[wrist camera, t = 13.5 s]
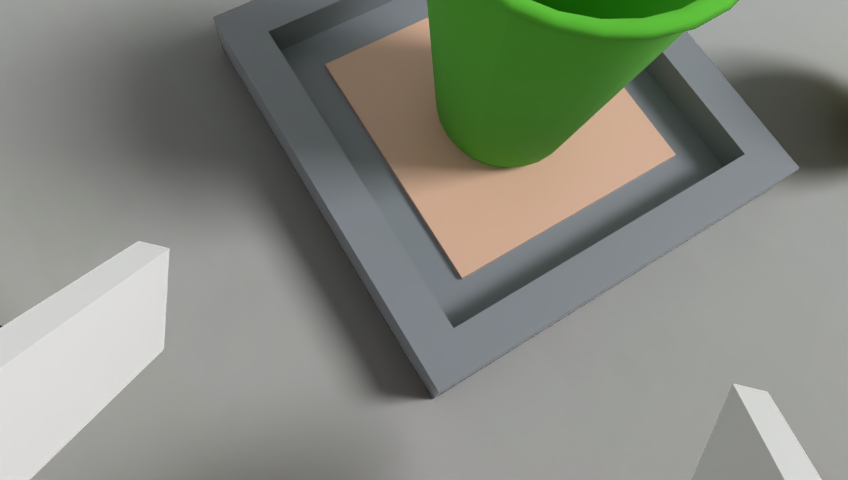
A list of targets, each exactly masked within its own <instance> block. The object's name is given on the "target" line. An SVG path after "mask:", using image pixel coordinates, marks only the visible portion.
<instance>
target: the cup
mask: <svg viewBox="0 0 848 480" xmlns="http://www.w3.org/2000/svg"><path fill="white" fill-rule="evenodd" d="M738 1H739V0H427V6H428V18H429V29H430V40H431V51H432V63H433V74H434V85H435V96H436V107H437V111H438V115H439V120H440V123H441V125H442V126H443V128H444V130H445V132H446V134H447V136H448V137H449V138H450V139H451V140H452V141H453V142H454V143H455V145H456V146H457V147H458V148H459V149H460V150H461V151H462V152H464V153H465V154H467V155H468V156H470V157H471V158H473V159H474V160H477V161H479V162H482V163H484V164H487V165H491V166H496V167H502V168H506V167H522V166H526V165H530V164H533V163H537V162H539V161H541V160H542V159H544V158H546V157H548V156H549V155H551V154H552V153H553V152H554V151H555V150H557V149H558V148H559V147H560V146H561V145H562V144H563V143H564V142H565V141H566V140H567V139H568V138H570V137H571V136H572V135H573V134H574V133H575V132H576V131H577V130H578V129H579V128H580V127H582V126H583V125H584V124H585V123H586V122H587V121H588V120H589V119H590V118H591V117H592V116H594V115H595V114H596V113H597V112H598V111H599V110H600V109H601V108H602V107H603V106H604V105H606V104H607V103H608V102H609V101H610V100H611V99H612V98H613V97H614V96H615V95H616V94H617V93H619V92H620V91H621V90H622V89H623V88H624V87H625V86H626V85H627V84H628V83H629V82H631V81H632V80H633V79H634V78H635V77H636V76H637V75H638V74H639V73H640V72H641V71H643V70H644V69H645V68H646V67H647V66H648V65H649V64H650V63H651V62H652V61H653V60H654V59H656V58H657V57H658V56H659V55H660V54H661V53H662V52H663V51H664V50H665V49H666V48H668V47H669V46H670V45H671V44H672V43H673V42H674V41H675V40H676V39H677V38H678V37H680V36H681V35H682V34H683V33H684V32H685V31H689V30H692V29H695V28H697V27H699V26H701V25H703V24H704V23H706V22H708V21H710V20H712V19H713V18H715V17H717V16H719V15H721V14H722V13H724V12H726V11H728V10H730V9H731V8H732V7H733V6H734V5H735V4H736V3H737V2H738Z"/></svg>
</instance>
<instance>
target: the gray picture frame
mask: <svg viewBox="0 0 848 480" xmlns="http://www.w3.org/2000/svg"><path fill="white" fill-rule="evenodd" d="M213 19H214V22H215V25H216V28H217V31H218V34H219V37H220V40H221V43H222V46H223V49H224V51H225V53H226V55H227V56H228V58H229V60H230V61H231V63H232V65H233V66H234V68H235V70H236V71H237V73H238V75H239V76H240V78H241V80H242V81H243V83H244V85H245V86H246V88H247V90H248V91H249V93H250V95H251V96H252V98H253V100H254V101H255V103H256V105H257V106H258V108H259V110H260V111H261V113H262V115H263V116H264V118H265V120H266V121H267V123H268V125H269V126H270V128H271V130H272V131H273V133H274V135H275V136H276V138H277V140H278V141H279V143H280V145H281V146H282V148H283V150H284V151H285V153H286V155H287V156H288V158H289V160H290V161H291V163H292V165H293V166H294V168H295V170H296V171H297V173H298V175H299V177H300V178H301V180H302V182H303V183H304V185H305V187H306V188H307V190H308V192H309V193H310V195H311V197H312V198H313V200H314V202H315V203H316V205H317V207H318V208H319V210H320V212H321V213H322V215H323V217H324V218H325V220H326V222H327V223H328V225H329V227H330V228H331V230H332V232H333V233H334V235H335V237H336V238H337V240H338V242H339V243H340V245H341V247H342V248H343V250H344V252H345V253H346V255H347V257H348V258H349V260H350V262H351V263H352V265H353V267H354V268H355V270H356V272H357V273H358V275H359V277H360V278H361V280H362V282H363V283H364V285H365V287H366V288H367V290H368V292H369V294H370V295H371V297H372V299H373V300H374V302H375V304H376V305H377V307H378V309H379V310H380V312H381V314H382V315H383V317H384V319H385V320H386V322H387V324H388V325H389V327H390V329H391V330H392V332H393V334H394V335H395V337H396V339H397V340H398V342H399V344H400V345H401V347H402V349H403V350H404V352H405V354H406V355H407V357H408V359H409V360H410V362H411V364H412V365H413V367H414V369H415V370H416V372H417V374H418V375H419V377H420V379H421V380H422V382H423V384H424V385H425V387H426V389H427V390H428V392H429V394H430V395H431V397H432V399H434V398H436V397H437V396H439V395H440V394H442V393H444V392H445V391H447V390H448V389H450V388H452V387H453V386H455V385H457V384H458V383H460V382H461V381H463V380H465V379H466V378H468V377H469V376H471V375H473V374H474V373H476V372H477V371H479V370H481V369H482V368H484V367H485V366H487V365H489V364H490V363H492V362H493V361H495V360H497V359H498V358H500V357H501V356H503V355H505V354H506V353H508V352H509V351H511V350H513V349H514V348H516V347H517V346H519V345H521V344H522V343H524V342H526V341H527V340H529V339H530V338H532V337H534V336H535V335H537V334H538V333H540V332H542V331H543V330H545V329H546V328H548V327H550V326H551V325H553V324H554V323H556V322H558V321H559V320H561V319H562V318H564V317H566V316H567V315H569V314H570V313H572V312H574V311H575V310H577V309H578V308H580V307H582V306H583V305H585V304H586V303H588V302H590V301H591V300H593V299H595V298H596V297H598V296H599V295H601V294H603V293H604V292H606V291H607V290H609V289H611V288H612V287H614V286H615V285H617V284H619V283H620V282H622V281H623V280H625V279H627V278H628V277H630V276H631V275H633V274H635V273H636V272H638V271H639V270H641V269H643V268H644V267H646V266H647V265H649V264H651V263H652V262H654V261H655V260H657V259H659V258H660V257H662V256H663V255H665V254H667V253H668V252H670V251H672V250H673V249H675V248H676V247H678V246H680V245H681V244H683V243H684V242H686V241H688V240H689V239H691V238H692V237H694V236H696V235H697V234H699V233H700V232H702V231H704V230H705V229H707V228H708V227H710V226H712V225H713V224H715V223H716V222H718V221H720V220H721V219H723V218H724V217H726V216H728V215H729V214H731V213H732V212H734V211H736V210H737V209H739V208H741V207H742V206H744V205H745V204H747V203H749V202H750V201H752V200H753V199H755V198H757V197H758V196H760V195H761V194H763V193H765V192H766V191H768V190H769V189H771V188H772V187H774V186H775V185H777V184H778V183H779V182H781V181H782V180H784V179H785V178H787V177H788V176H789V175H791V174H792V173H794V172H795V171H797V170H798V169H799V167H798V165H797V164H796V163H795V162H794V161H793V159H792V158H791V157H790V156H789V155H788V153H787V152H786V151H785V150H784V148H783V147H782V146H781V145H780V144H779V142H778V141H777V140H776V139H775V138H774V136H773V135H772V134H771V133H770V132H769V130H768V129H767V128H766V127H765V125H764V124H763V123H762V122H761V121H760V119H759V118H758V117H757V116H756V115H755V113H754V112H753V111H752V110H751V109H750V107H749V106H748V105H747V104H746V103H745V101H744V100H743V99H742V98H741V96H740V95H739V94H738V93H737V92H736V90H735V89H734V88H733V87H732V86H731V84H730V83H729V82H728V81H727V80H726V78H725V77H724V76H723V75H722V73H721V72H720V71H719V70H718V69H717V67H716V66H715V65H714V64H713V63H712V61H711V60H710V59H709V58H708V57H707V55H706V54H705V53H704V52H703V50H702V49H701V48H700V47H699V46H698V44H697V43H696V42H695V41H694V40H693V38H692V37H691V36H690V35H689V34H688V32H687V31H685V32H684V33H683V34H682V35H681V36H680V37H678V38H677V39H676V40H675V41H674V42H673V43H672V44H671V45H670V46H669V47H668V48H666V49H665V50H664V51H663V52H662V53H661V54H660V55H659V56H658V57H657V58H656V59H654V60H653V61H652V62H651V63H650V64H649V65H648V66H647V67H646V68H645V69H644V70H643V71H641V72H640V73H639V74H638V75H637V76H636V77H635V78H634V79H633V80H632V81H631V82H629V83H628V84H627V85H626V86H625V87H624V88H623V89H622V90H621V91H620V92H619V93H617V94H616V95H615V96H614V97H613V98H612V99H611V100H610V101H609V102H608V103H607V104H606V105H604V106H603V107H602V108H601V109H600V110H599V111H598V112H597V113H596V114H595V115H594V116H592V117H591V118H590V119H589V120H588V121H587V122H586V123H585V124H584V125H583V126H582V127H580V128H579V129H578V130H577V131H576V132H575V133H574V134H573V135H572V136H571V137H570V138H568V139H567V140H566V141H565V142H564V143H563V144H562V145H561V146H560V147H559V148H558V149H557V150H555V151H554V152H553V153H552V154H551V155H549V156H548V157H546V158H544V159H542V160H541V161H539V162H537V163H533V164H530V165H526V166H522V167H506V168H502V167H496V166H491V165H487V164H484V163H482V162H479V161H477V160H474V159H473V158H471V157H470V156H468V155H467V154H465V153H464V152H462V151H461V150H460V149H459V148H458V147H457V146H456V145H455V143H454V142H453V141H452V140H451V139H450V138H449V137H448V136H447V134H446V132H445V130H444V128H443V126H442V125H441V123H440V120H439V115H438V111H437V107H436V96H435V85H434V74H433V63H432V51H431V40H430V29H429V18H428V6H427V0H254V1H251V2H249V3H246V4H244V5H242V6H239V7H237V8H234V9H232V10H230V11H227V12H225V13H222V14H220V15H218V16H215V17H213Z"/></svg>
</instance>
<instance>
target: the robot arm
mask: <svg viewBox="0 0 848 480" xmlns="http://www.w3.org/2000/svg"><path fill="white" fill-rule="evenodd" d="M168 266H169V248H166V247H162V246H158V245H154V244H149V243H145V242H141V241H138V242H136V243H134V244H133V245H131V246H130V247H128V248H126V249H125V250H123V251H122V252H120V253H118V254H117V255H115V256H114V257H112V258H111V259H109V260H107V261H106V262H104V263H103V264H101V265H99V266H98V267H96V268H95V269H93V270H91V271H90V272H88V273H87V274H85V275H84V276H82V277H80V278H79V279H77V280H76V281H74V282H72V283H71V284H69V285H68V286H66V287H65V288H63V289H61V290H60V291H58V292H57V293H55V294H53V295H52V296H50V297H49V298H47V299H45V300H44V301H42V302H41V303H39V304H38V305H36V306H34V307H33V308H31V309H30V310H28V311H26V312H25V313H23V314H22V315H20V316H18V317H17V318H15V319H14V320H12V321H11V322H9V323H7V324H6V325H4V326H0V480H30V479H31V478H32V477H33V476H34V475H35V474H36V473H37V472H38V471H39V470H40V469H41V468H42V467H43V466H44V465H45V464H46V463H47V462H48V461H50V460H51V459H52V458H53V457H54V456H55V455H56V454H57V453H58V452H59V451H60V450H61V449H62V448H63V447H64V446H65V445H66V444H67V443H68V442H69V441H70V440H71V439H72V438H73V437H74V436H75V435H76V434H77V433H78V432H79V431H80V430H81V429H82V428H83V427H84V426H85V425H86V424H88V423H89V422H90V421H91V420H92V419H93V418H94V417H95V416H96V415H97V414H98V413H99V412H100V411H101V410H102V409H103V408H104V407H105V406H106V405H107V404H108V403H109V402H110V401H111V400H112V399H113V398H114V397H115V396H116V395H117V394H118V393H119V392H120V391H121V390H122V389H123V388H125V387H126V386H127V385H128V384H129V383H130V382H131V381H132V380H133V379H134V378H135V377H136V376H137V375H138V374H139V373H140V372H141V371H142V370H143V369H144V368H145V367H146V366H147V365H148V364H149V363H150V362H151V361H152V360H153V359H154V358H155V357H156V356H157V355H158V354H159V353H160V352H162V351H163V350H164V338H165V320H166V302H167V284H168ZM692 480H822V479H821V478H820V476H819V474H818V473H817V471H816V470H815V468H814V466H813V465H812V463H811V461H810V460H809V458H808V457H807V455H806V453H805V452H804V450H803V448H802V447H801V445H800V443H799V442H798V440H797V439H796V437H795V435H794V434H793V432H792V430H791V429H790V427H789V426H788V424H787V422H786V421H785V419H784V417H783V416H782V414H781V412H780V411H779V409H778V408H777V406H776V404H775V403H774V401H773V399H772V398H771V396H770V395H769V393H768V392H767V391H763V390H758V389H754V388H750V387H746V386H742V385H737V384H732V387H731V389H730V391H729V394H728V396H727V398H726V401H725V403H724V405H723V408H722V410H721V412H720V415H719V417H718V420H717V422H716V424H715V427H714V429H713V431H712V434H711V436H710V438H709V441H708V443H707V445H706V448H705V450H704V452H703V455H702V457H701V460H700V462H699V464H698V467H697V469H696V471H695V474H694V476H693V478H692Z"/></svg>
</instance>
